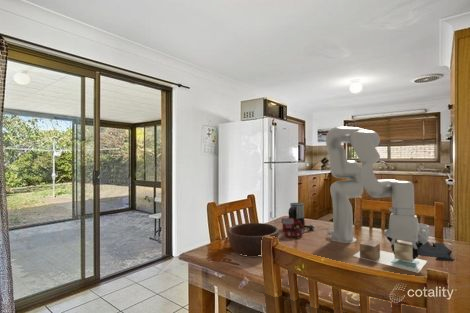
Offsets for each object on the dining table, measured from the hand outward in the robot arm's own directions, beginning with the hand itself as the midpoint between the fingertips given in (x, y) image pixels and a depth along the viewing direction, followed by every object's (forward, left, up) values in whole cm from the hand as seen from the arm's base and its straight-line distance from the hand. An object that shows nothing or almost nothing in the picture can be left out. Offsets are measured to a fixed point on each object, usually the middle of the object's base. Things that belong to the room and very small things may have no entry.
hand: (405, 255), depth 104 cm
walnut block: (-12, -4, -3) cm, 13 cm away
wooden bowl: (-57, -29, -4) cm, 64 cm away
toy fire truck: (-55, +2, -4) cm, 55 cm away
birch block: (0, 0, -1) cm, 1 cm away
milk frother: (-61, +20, -4) cm, 64 cm away
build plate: (-6, 0, -4) cm, 7 cm away
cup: (-2, +38, -4) cm, 38 cm away
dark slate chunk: (+1, +19, -5) cm, 19 cm away
